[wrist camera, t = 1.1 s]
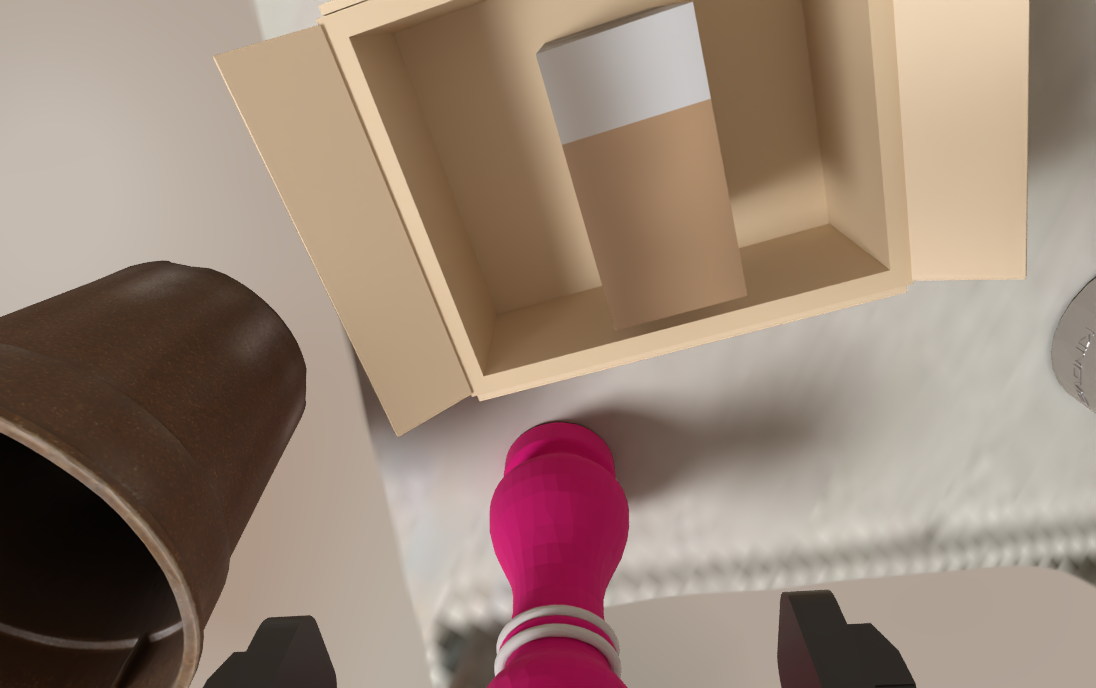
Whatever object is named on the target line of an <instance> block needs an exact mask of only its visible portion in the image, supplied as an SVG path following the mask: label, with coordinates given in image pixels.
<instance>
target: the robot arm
mask: <svg viewBox="0 0 1096 688" xmlns="http://www.w3.org/2000/svg"><path fill="white" fill-rule="evenodd" d="M1051 356H1052V366H1053V370H1054V373H1055V375H1056V377H1057V380H1058V382H1059V383H1060V384H1061V385H1062V387H1063V388H1064V389H1065V390H1066V391H1067V392H1068V393H1069V394H1070V395H1071V396H1073V397H1074V398H1076V399H1077V400H1078V401H1080V402H1081V403H1082V404H1084V405H1085V406H1086V407H1088V408H1089V409H1090V410H1092V411H1093V412H1094V413H1096V278H1095V279H1094V280H1093V281H1091V282H1090V283H1089V284H1088V285H1087V286H1086V287H1085V288H1084V289H1083V290H1082V291H1081V292H1080V293H1079V294H1078V295H1077V297H1076V298H1075V299H1074V300H1073V301H1072V302H1071V304H1070V305H1069V307H1068V309H1067V310H1066V312H1065V313H1064V315H1063V316H1062V318H1061V320H1060V322H1059V325H1058V327H1057V330H1056V332H1055V335H1054V339H1053V345H1052V351H1051ZM777 654H778V655H777V659H778V669H779V676H780V682H781V686H782V688H916V684H915V682H914V680H913V678H912V676H911V674H910V672H909V670H908V668H907V666H906V664H905V662H904V660H903V658H902V657H901V654H900V653H899V651H898V650H897V649H896V648H895V647H894V646H893V645H892V644H891V643H890V642H889V641H888V640H887V639H886V638H885V637H884V636H883V635H882V634H881V633H880V632H879V631H878V630H877V629H876V628H875V627H874V626H873V625H872V624H871V623H864V624H847V623H846V621H845V618H844V616H843V614H842V612H841V610H840V607H839V605H838V603H837V601H836V599H835V597H834V595H833V593H832V592H831V591H830V590H814V591H796V592H783V593H782V594H781V599H780V615H779V634H778V652H777ZM203 688H337V682H336V674H335V671H334V668H333V665H332V663H331V660H330V657H329V654H328V652H327V649H326V647H325V644H324V641H323V638H322V636H321V633H320V631H319V628H318V625H317V623H316V621H315V619H314V618H313V617H312V616H310V615H308V616H290V617H271V618H267V619H265V620H264V621H263V622H262V623H261V625H260V626H259V628H258V630H257V632H256V634H255V636H254V637H253V639H252V641H251V643H250V645H249V647H248V649H247V651H246V652H234V653H233V654H232V655H231V656H230V657H229V658H228V659H227V660H226V661H225V662H224V663H223V664H222V665H221V666H220V667H219V668H218V669H217V670H216V672H214V674H212V676H211V677H210V678H209V679H208V680H207V681H206V683H205V685H204V687H203Z"/></svg>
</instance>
